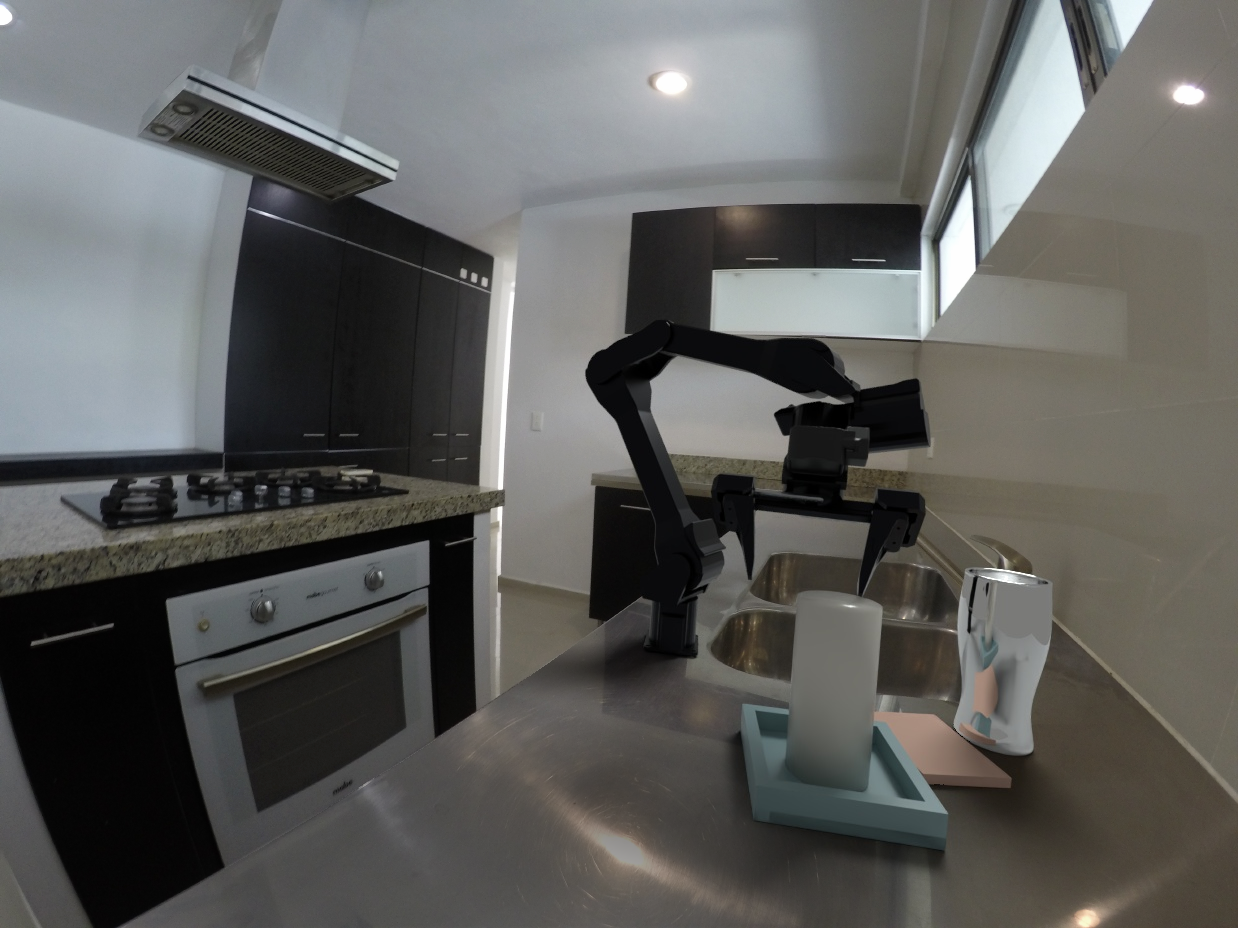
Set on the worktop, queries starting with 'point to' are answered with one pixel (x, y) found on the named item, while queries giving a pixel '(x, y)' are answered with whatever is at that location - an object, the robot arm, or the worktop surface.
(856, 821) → the tray
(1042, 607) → the beer glass
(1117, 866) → the worktop surface
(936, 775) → the plate
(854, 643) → the frosted white cylinder
